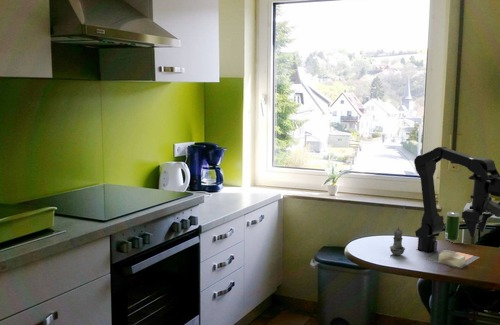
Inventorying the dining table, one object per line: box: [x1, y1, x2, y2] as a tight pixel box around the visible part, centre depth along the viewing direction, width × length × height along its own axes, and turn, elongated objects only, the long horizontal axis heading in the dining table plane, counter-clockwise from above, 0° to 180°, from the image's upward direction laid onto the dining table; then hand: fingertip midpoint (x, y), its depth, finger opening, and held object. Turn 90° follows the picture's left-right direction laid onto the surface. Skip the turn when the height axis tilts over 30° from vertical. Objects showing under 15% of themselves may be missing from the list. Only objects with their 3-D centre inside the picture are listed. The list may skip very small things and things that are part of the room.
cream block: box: [438, 251, 465, 268], centre depth 196 cm, size 8×5×3 cm, turn 46°
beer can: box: [444, 211, 461, 242], centre depth 229 cm, size 5×5×12 cm
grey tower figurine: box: [389, 226, 406, 257], centre depth 204 cm, size 6×6×12 cm
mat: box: [424, 249, 481, 269], centre depth 202 cm, size 14×18×1 cm
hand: (477, 234), depth 193 cm, fingers open, 9 cm apart
